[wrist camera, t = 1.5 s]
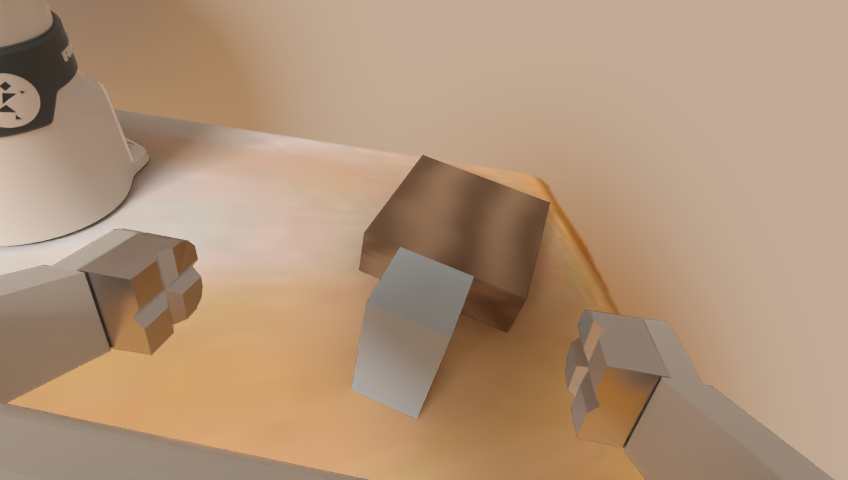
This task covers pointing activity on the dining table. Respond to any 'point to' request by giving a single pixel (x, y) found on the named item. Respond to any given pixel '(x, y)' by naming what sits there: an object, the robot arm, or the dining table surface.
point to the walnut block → (463, 235)
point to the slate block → (408, 330)
